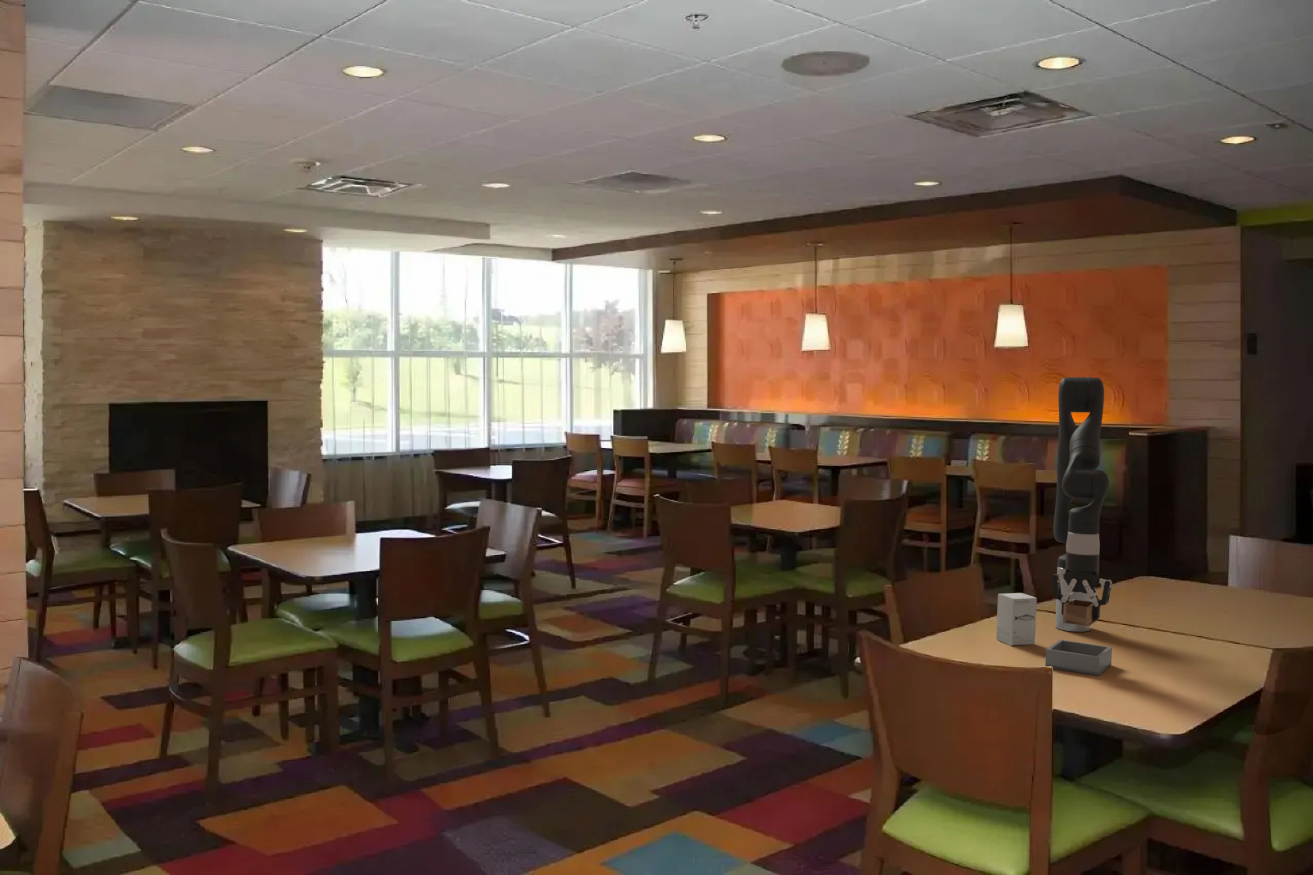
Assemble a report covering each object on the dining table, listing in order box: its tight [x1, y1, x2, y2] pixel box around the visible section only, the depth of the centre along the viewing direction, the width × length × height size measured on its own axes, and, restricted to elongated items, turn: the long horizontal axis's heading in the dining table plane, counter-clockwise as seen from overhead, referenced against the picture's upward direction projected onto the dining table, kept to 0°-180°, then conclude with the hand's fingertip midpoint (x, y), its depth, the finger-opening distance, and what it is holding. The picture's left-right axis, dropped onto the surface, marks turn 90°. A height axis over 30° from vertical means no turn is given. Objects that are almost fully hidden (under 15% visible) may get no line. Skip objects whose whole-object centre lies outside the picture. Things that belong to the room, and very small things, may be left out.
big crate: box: [1044, 639, 1113, 677], centre depth 272 cm, size 12×12×4 cm
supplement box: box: [995, 592, 1038, 647], centre depth 296 cm, size 7×7×13 cm
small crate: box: [1063, 599, 1095, 627], centre depth 271 cm, size 8×6×4 cm
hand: (1080, 619), depth 272 cm, fingers closed on small crate, 6 cm apart
